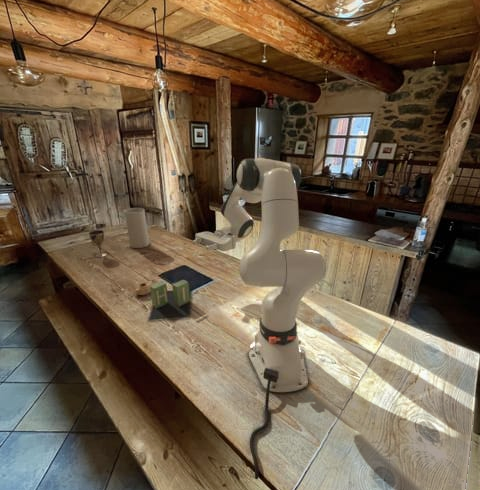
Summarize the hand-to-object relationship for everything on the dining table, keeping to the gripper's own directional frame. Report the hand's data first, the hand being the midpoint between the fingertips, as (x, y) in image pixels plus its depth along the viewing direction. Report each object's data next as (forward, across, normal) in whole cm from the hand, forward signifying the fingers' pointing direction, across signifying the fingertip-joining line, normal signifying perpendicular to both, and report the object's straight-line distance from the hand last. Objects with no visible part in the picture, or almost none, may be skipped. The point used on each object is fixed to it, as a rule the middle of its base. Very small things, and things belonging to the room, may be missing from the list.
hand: (200, 245), depth 118 cm
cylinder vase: (-10, -80, +25) cm, 85 cm away
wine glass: (+15, -83, +25) cm, 88 cm away
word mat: (+16, -3, +25) cm, 30 cm away
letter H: (+20, -6, +24) cm, 32 cm away
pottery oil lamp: (+18, -20, +25) cm, 37 cm away
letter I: (+12, 0, +24) cm, 27 cm away
